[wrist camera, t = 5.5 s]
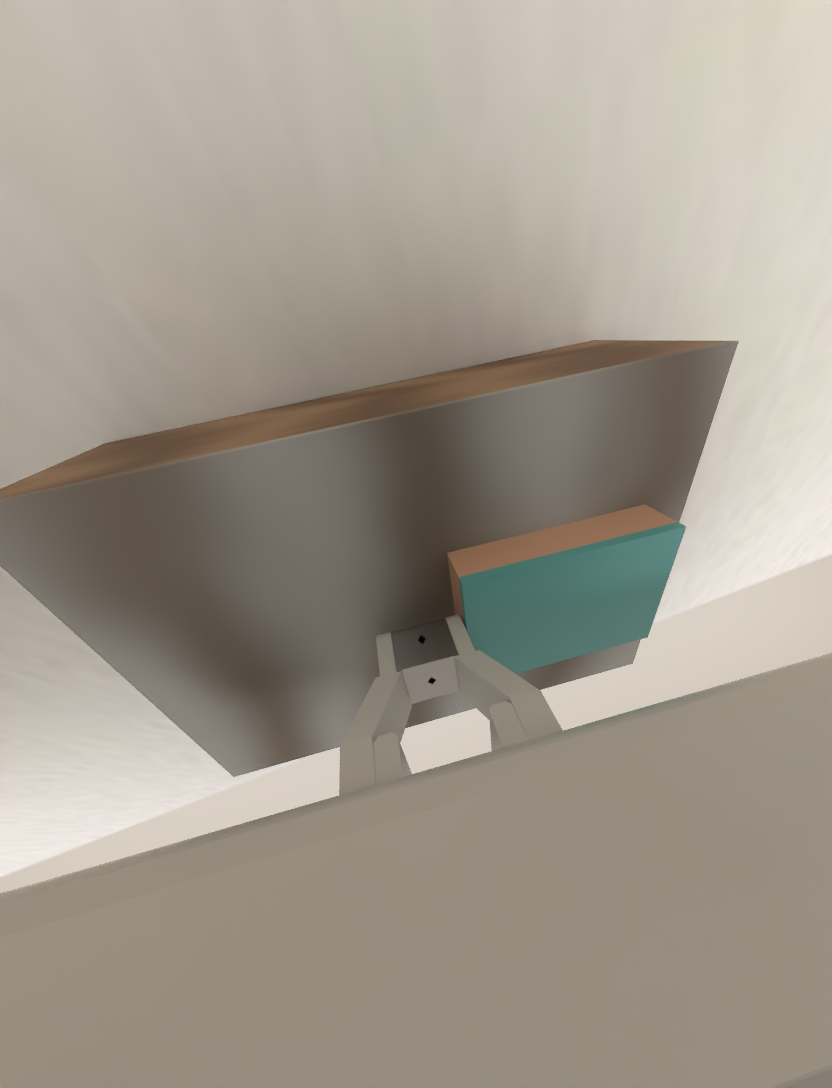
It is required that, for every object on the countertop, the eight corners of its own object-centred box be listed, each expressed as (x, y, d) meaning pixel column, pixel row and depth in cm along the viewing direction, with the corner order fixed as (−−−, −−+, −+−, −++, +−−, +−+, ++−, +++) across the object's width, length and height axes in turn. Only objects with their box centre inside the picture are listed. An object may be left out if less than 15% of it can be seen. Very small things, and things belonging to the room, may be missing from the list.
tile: (460, 650, 13) (473, 685, 12) (447, 552, 11) (461, 583, 9) (618, 608, 14) (647, 637, 13) (645, 504, 11) (685, 526, 10)
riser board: (260, 668, 20) (233, 776, 15) (104, 444, 12) (-57, 514, 7) (565, 587, 21) (632, 663, 16) (594, 340, 14) (738, 341, 9)
